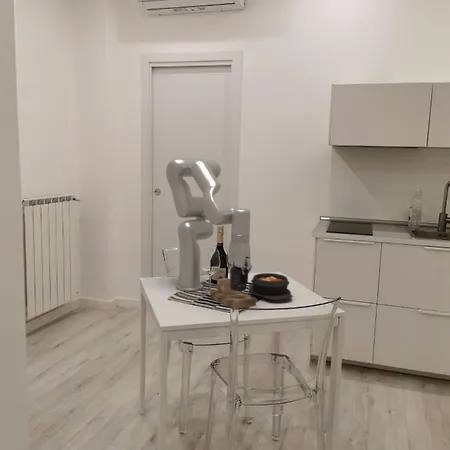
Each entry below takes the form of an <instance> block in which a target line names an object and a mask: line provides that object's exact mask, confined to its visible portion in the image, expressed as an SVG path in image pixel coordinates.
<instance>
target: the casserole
mask: <svg viewBox="0 0 450 450" xmlns="http://www.w3.org/2000/svg"><path fill="white" fill-rule="evenodd" d="M250 283H251V284H249V285H248V288H249V290H248V291H249V293H251V294H252V295H254V296H257V297H259V298H262V299H267V300H271V301H272V300H273V301H279V300H280V301H281V300H283V301H284V300H288V299H291V298H293V295H292V293H291V290H290V289H289V288H288V287H289V284H290V281H289V280H288V277H287V276H285V275H282V274H279V273H273V272H271V273H270V272H268V273H267V272H264V273H257V274H254V275H253V277H252V279H251V281H250Z"/></svg>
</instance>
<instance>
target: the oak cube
mask: <svg viewBox="0 0 450 450" xmlns="http://www.w3.org/2000/svg"><path fill="white" fill-rule="evenodd" d="M216 284H217V285H216V286H217V288H216V290H217V291H219V292H222V293H229V292H233V290H231V289H230V278H228V277H226V278H225V277H224V278H218V279H217V283H216Z"/></svg>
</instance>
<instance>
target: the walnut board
mask: <svg viewBox="0 0 450 450" xmlns="http://www.w3.org/2000/svg"><path fill="white" fill-rule="evenodd" d="M210 299H212V300H214V301H216V302H218V303H220V304H222V305H223V306H225V307H228V308H230V309H232V308H233V309H232V310H234V309H235V310H240V309H239V308H241V309H245V308H251V307H255V306H257V298H256V297H254V296H251V295H249V294H247V293H244V292H243V291H233V292H229V293H222V292H219V291H217V289H215V290H211V291H210Z"/></svg>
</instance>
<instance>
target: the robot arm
mask: <svg viewBox="0 0 450 450" xmlns="http://www.w3.org/2000/svg"><path fill="white" fill-rule="evenodd" d="M221 171H222V169H221V165H220V164H219V163H218V162H217V161H216V160H214V159H204V158H196V157H194V158H190V157H189V158H188V157H187V158H183V157H181V158H180V157H178V158H174V159H171V160H170V161H169V162H168V163H167V165H166V171H165V172H166V173H165V174H166V180H167V183H168V185H169V187H170V190H171V195H172V197H173V202H174V208H175V211H176V214H177V216H178V217H179V218H183V219H188V220H183V221H182V222H181V223H179V224H178V226H177V234H178V242H179V275H178V277H177V279H178V281H179V282H178V283H176V284H175V288H176V289H177V290H180V291H184V292H185V291H186V292H195V291H200V290H202V289H203V288H204V285H203V283H201V247H200V246H199V243H198V241H201V240H207V239H210V238H212V236H213V234H214V229H215V227H214V225H215V226H223V225H231V229H230V231H231V236H230V241H229V247H228V256H227V257H228V258H227V261H228V262H227V263H228V264H229V270H230V269H231V267H233V262H234V265H235V266H236V267H239V268H241V271H242V274H241V284H244V283H246V284H247V283H248V282H249V273H250V272H251V270H252V268H253V266H252V263H251V245H250V237H251V236H250V234H251V231H250V230H251V211H250V209H248V208H243V207H241V208H240V207H238V206H235V205H231V206H230V205H229V206H228V205H227V206H218V204H217V203H216V202H215V199H214V196H215V195H217V193H219V192H220V190H221V183H220V181H219V180H218V177H219V176H220V175H221ZM187 177H188V178H189V177H190V178H191V177H192V179H194V181H195V183H196V184H197V186H198V188H199V189H200V191H201V192H202V194H203V195H202V196H193V195H192V191H191V187H190V185H189V184H188V183H187V181H186V179H184V178H187ZM189 218H190V219H189ZM191 218H195V219H191ZM244 268H245V270H244Z"/></svg>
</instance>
